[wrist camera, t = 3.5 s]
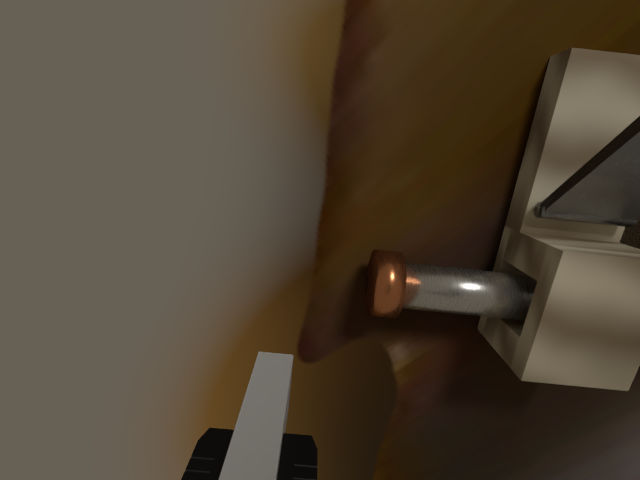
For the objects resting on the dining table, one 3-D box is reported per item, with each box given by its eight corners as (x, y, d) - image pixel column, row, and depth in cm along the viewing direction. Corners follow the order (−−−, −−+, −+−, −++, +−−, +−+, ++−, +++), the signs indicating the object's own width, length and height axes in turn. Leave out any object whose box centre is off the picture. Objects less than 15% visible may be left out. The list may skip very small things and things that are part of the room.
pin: (371, 241, 27) (382, 262, 22) (534, 258, 27) (580, 282, 22) (363, 297, 29) (371, 328, 24) (517, 312, 29) (558, 346, 24)
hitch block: (550, 56, 24) (638, 20, 17) (655, 68, 24) (784, 37, 17) (477, 328, 30) (521, 380, 23) (560, 337, 30) (628, 391, 24)
